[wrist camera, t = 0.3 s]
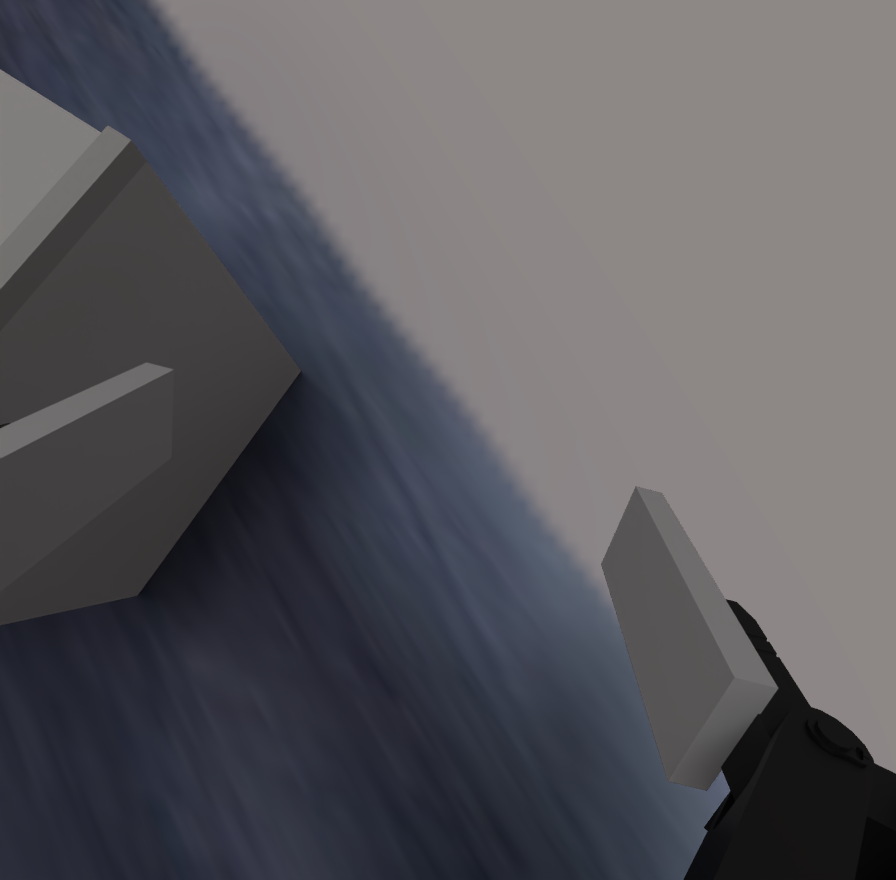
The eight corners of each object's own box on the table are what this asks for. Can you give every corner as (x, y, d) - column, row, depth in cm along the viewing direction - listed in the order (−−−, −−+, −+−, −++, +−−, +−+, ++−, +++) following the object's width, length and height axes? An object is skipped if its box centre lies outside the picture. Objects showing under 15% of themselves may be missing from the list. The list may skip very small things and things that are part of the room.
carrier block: (196, 303, 34) (-112, -12, 14) (301, 370, 33) (131, 139, 14) (25, 519, 31) (-646, 493, 12) (137, 595, 31) (-363, 703, 11)
